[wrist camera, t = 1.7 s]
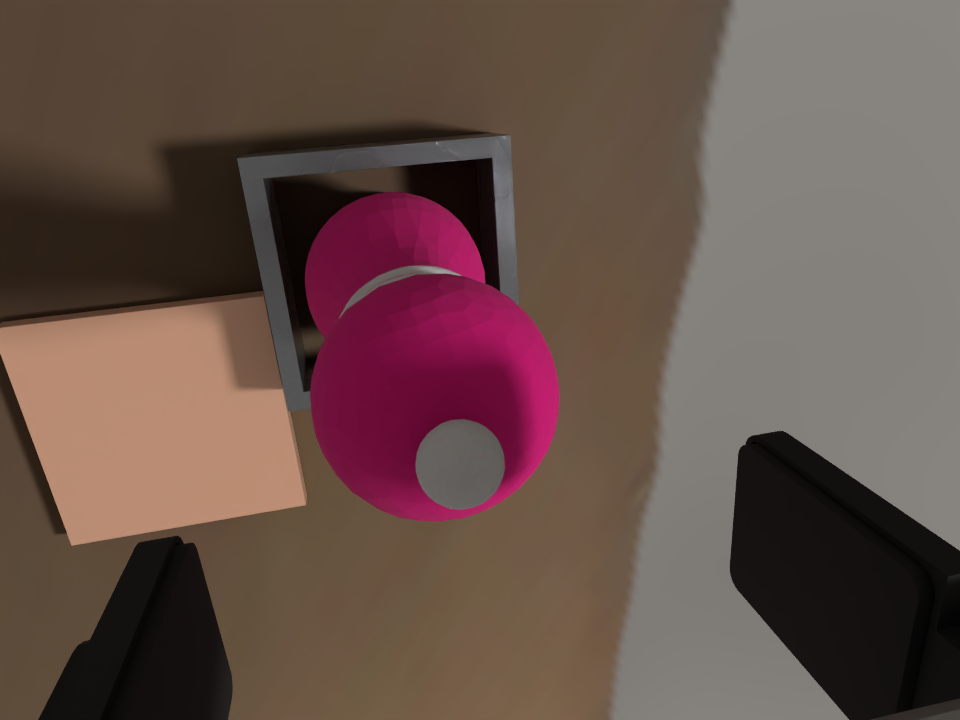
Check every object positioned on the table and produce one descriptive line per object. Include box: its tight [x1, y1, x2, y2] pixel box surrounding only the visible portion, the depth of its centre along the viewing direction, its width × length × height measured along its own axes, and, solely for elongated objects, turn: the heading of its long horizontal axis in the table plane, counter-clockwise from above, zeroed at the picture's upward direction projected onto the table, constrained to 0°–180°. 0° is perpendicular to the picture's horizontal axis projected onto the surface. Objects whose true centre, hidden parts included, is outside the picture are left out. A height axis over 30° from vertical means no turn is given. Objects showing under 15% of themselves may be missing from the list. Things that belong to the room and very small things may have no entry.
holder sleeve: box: [237, 133, 519, 411], centre depth 29 cm, size 11×11×4 cm
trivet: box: [0, 291, 307, 545], centre depth 30 cm, size 11×11×1 cm
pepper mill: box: [305, 192, 559, 521], centre depth 21 cm, size 7×7×20 cm
